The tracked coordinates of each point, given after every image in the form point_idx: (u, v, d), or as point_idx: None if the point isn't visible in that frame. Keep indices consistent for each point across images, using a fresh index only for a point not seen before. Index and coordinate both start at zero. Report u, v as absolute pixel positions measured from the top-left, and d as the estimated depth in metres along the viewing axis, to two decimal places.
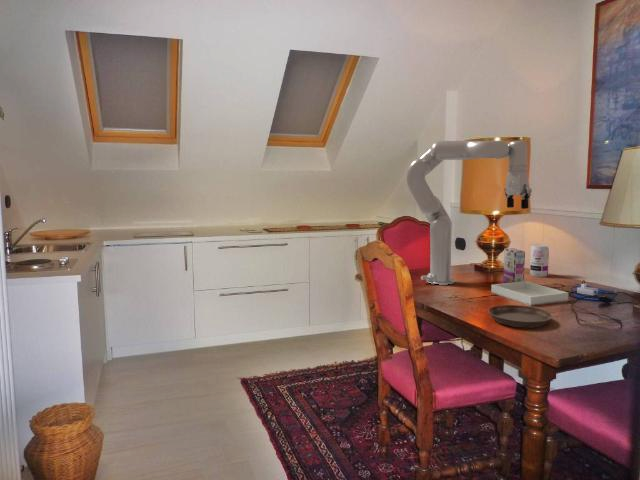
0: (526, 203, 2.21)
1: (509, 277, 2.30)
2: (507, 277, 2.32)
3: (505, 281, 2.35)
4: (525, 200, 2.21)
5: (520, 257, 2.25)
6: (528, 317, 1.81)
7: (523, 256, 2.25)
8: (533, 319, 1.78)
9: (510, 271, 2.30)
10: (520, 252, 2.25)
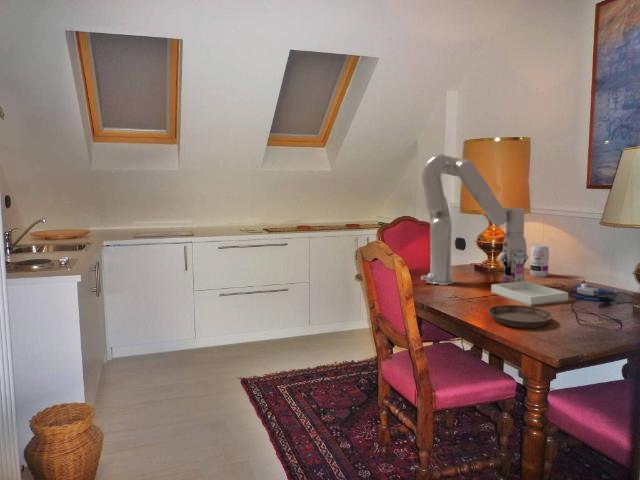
0: None
1: (509, 277, 2.30)
2: (507, 277, 2.32)
3: (505, 281, 2.35)
4: None
5: (520, 257, 2.25)
6: (528, 317, 1.81)
7: (523, 256, 2.25)
8: (533, 319, 1.78)
9: None
10: (520, 252, 2.25)
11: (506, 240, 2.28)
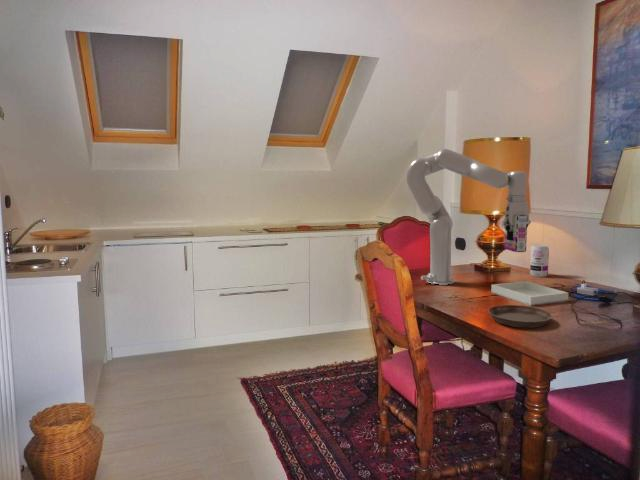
0: None
1: (511, 242, 2.26)
2: (509, 242, 2.28)
3: (507, 247, 2.31)
4: None
5: (522, 220, 2.21)
6: (528, 317, 1.81)
7: (526, 219, 2.21)
8: (533, 319, 1.78)
9: None
10: (523, 216, 2.21)
11: (508, 204, 2.24)
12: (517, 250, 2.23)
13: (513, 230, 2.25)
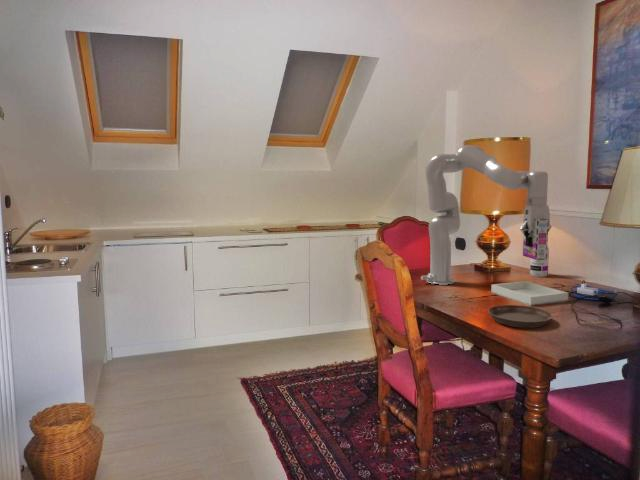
0: None
1: (531, 249, 2.07)
2: (528, 249, 2.10)
3: (525, 253, 2.12)
4: None
5: (543, 225, 2.02)
6: (528, 317, 1.81)
7: (547, 224, 2.03)
8: (533, 319, 1.78)
9: None
10: (543, 220, 2.02)
11: (527, 207, 2.05)
12: (537, 257, 2.04)
13: (532, 236, 2.06)
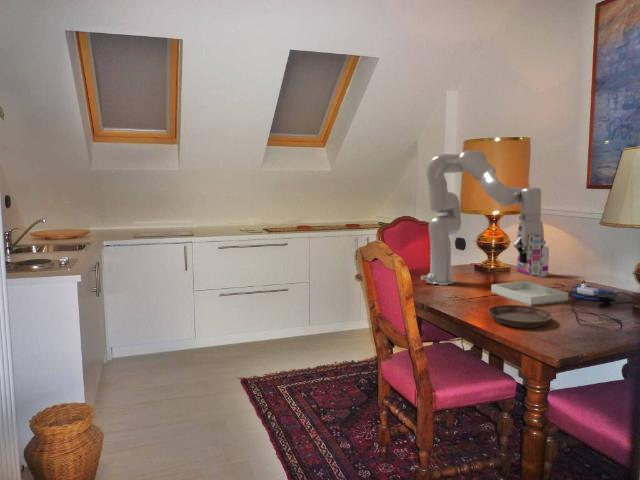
0: None
1: (525, 265, 2.07)
2: (522, 265, 2.09)
3: (520, 269, 2.12)
4: None
5: (537, 241, 2.02)
6: (528, 317, 1.81)
7: (540, 240, 2.02)
8: (533, 319, 1.78)
9: None
10: (537, 236, 2.02)
11: (521, 223, 2.05)
12: (531, 274, 2.04)
13: (526, 252, 2.06)
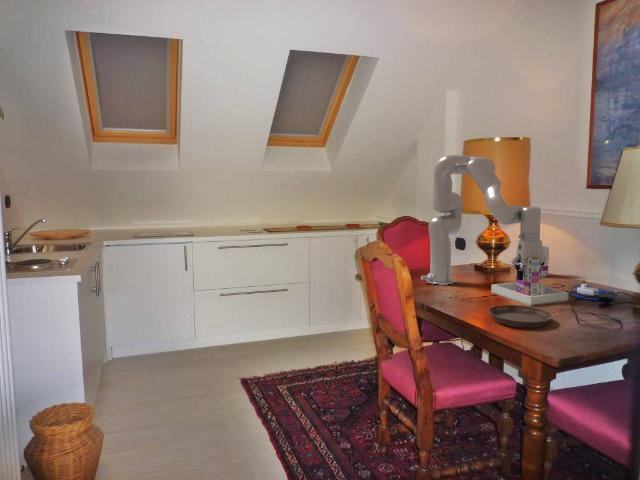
0: None
1: (524, 287, 2.09)
2: (521, 287, 2.11)
3: (518, 291, 2.13)
4: None
5: (535, 264, 2.04)
6: (528, 317, 1.81)
7: (539, 263, 2.04)
8: (533, 319, 1.78)
9: (524, 280, 2.08)
10: (535, 259, 2.04)
11: (520, 242, 2.06)
12: None
13: (525, 274, 2.07)
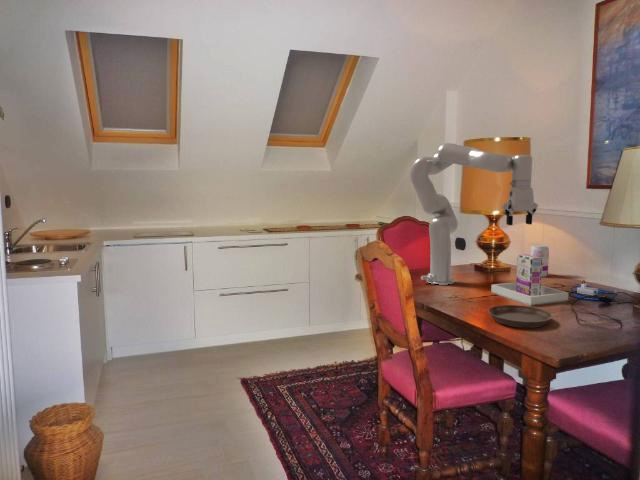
0: None
1: (524, 287, 2.09)
2: (521, 287, 2.11)
3: (519, 291, 2.13)
4: None
5: (536, 264, 2.04)
6: (528, 317, 1.81)
7: (540, 263, 2.04)
8: (533, 319, 1.78)
9: (524, 280, 2.08)
10: (537, 259, 2.04)
11: (512, 189, 2.14)
12: None
13: (526, 274, 2.07)
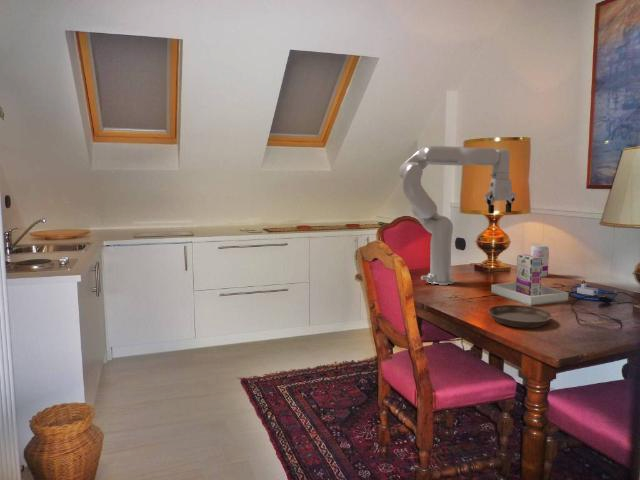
0: None
1: (524, 287, 2.09)
2: (521, 287, 2.11)
3: (519, 291, 2.13)
4: None
5: (536, 264, 2.04)
6: (528, 317, 1.81)
7: (540, 263, 2.04)
8: (533, 319, 1.78)
9: (524, 280, 2.08)
10: (537, 259, 2.04)
11: (492, 180, 2.36)
12: None
13: (526, 274, 2.07)
